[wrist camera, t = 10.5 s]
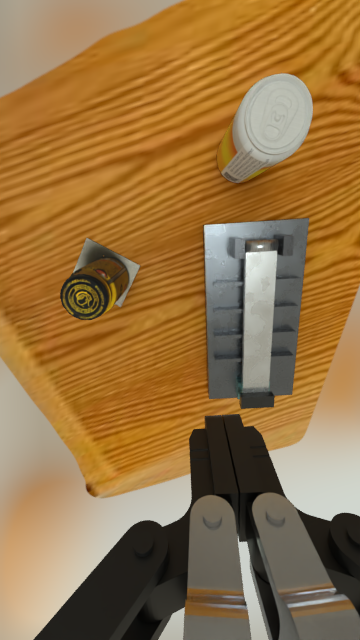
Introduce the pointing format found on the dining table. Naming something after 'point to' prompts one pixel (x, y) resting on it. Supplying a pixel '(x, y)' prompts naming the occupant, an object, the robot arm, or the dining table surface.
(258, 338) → the bar
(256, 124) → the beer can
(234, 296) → the clamp base
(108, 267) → the condiment
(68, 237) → the dining table surface
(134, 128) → the dining table surface
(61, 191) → the dining table surface
